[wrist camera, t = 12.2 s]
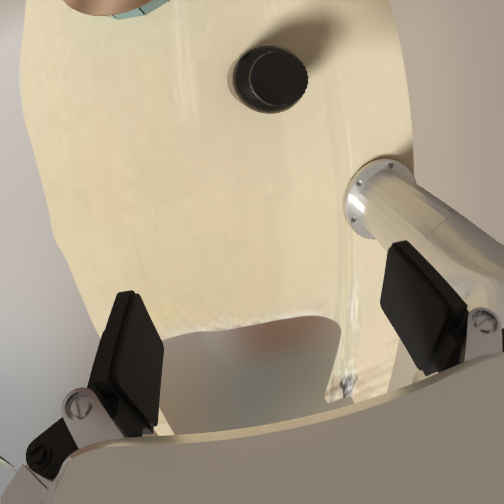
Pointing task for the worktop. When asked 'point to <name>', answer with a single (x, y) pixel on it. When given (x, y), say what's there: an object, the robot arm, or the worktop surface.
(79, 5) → the walnut lid
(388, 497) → the robot arm
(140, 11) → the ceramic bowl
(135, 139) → the worktop surface
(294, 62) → the supplement bottle
